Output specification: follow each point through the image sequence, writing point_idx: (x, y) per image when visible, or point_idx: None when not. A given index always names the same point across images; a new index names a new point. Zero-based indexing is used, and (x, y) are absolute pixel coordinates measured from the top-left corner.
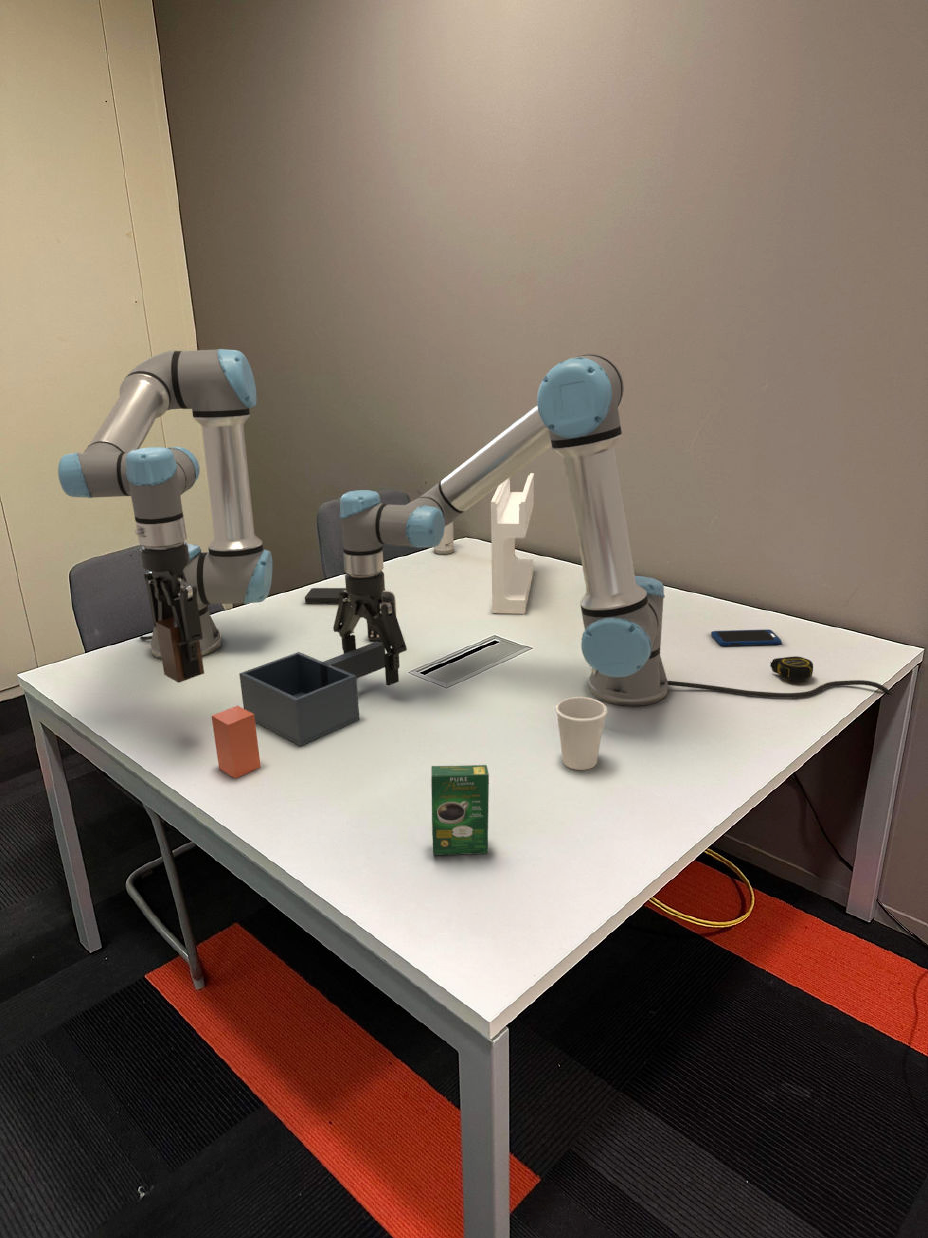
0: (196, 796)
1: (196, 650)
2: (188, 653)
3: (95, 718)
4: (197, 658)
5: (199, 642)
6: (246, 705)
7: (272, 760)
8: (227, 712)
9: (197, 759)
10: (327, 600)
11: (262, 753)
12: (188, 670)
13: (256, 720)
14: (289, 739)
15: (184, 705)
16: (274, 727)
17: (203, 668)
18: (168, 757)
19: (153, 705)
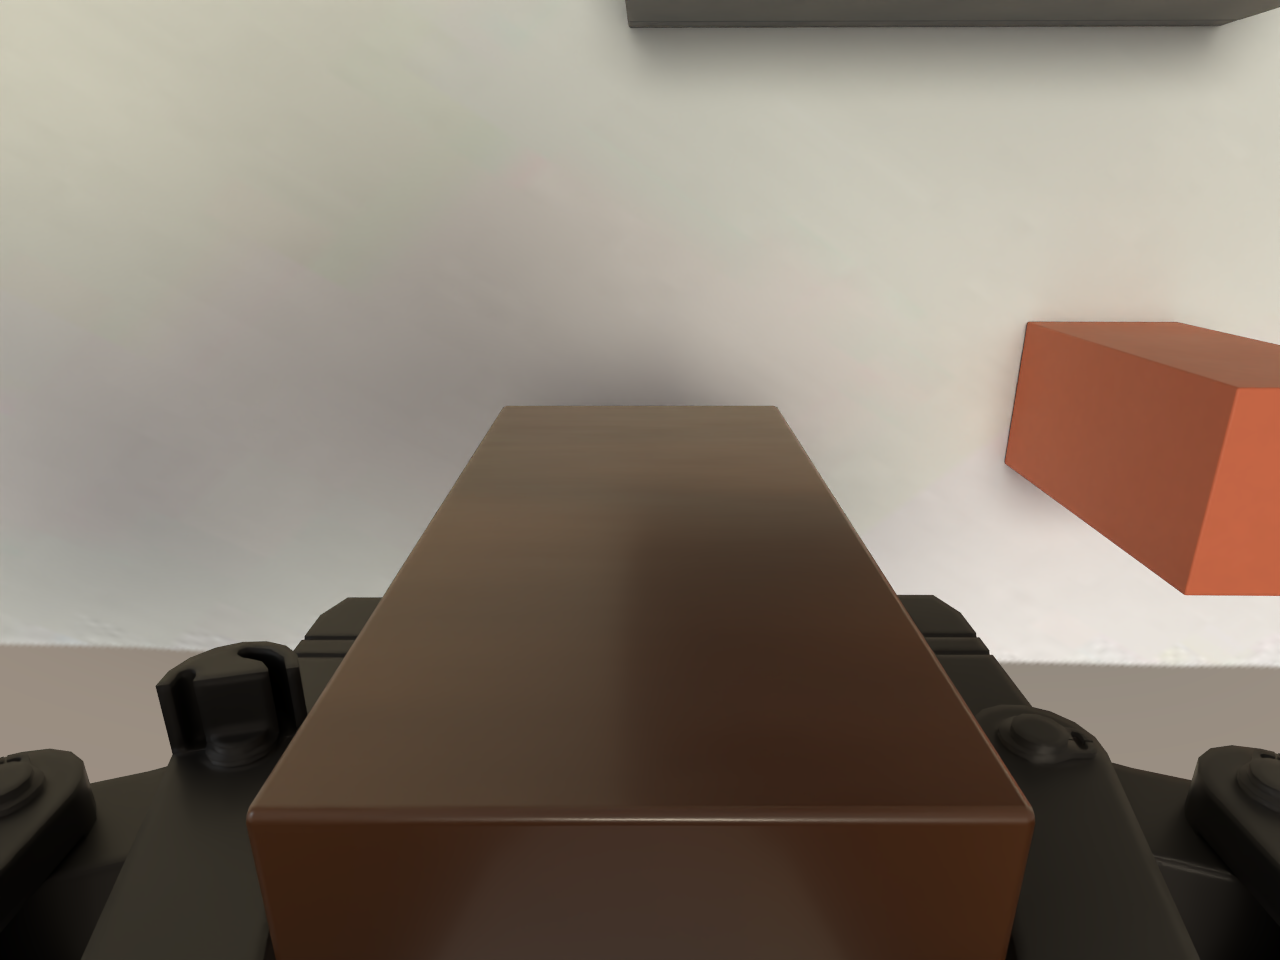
0: (1102, 637)
1: (995, 662)
2: None
3: (75, 595)
4: (937, 598)
5: (867, 549)
6: (668, 4)
7: (1180, 238)
8: (1257, 501)
9: (842, 481)
10: None
11: (1077, 230)
12: None
13: (768, 23)
14: (1118, 24)
15: (216, 205)
16: (977, 18)
17: (784, 421)
18: None
19: (100, 330)
